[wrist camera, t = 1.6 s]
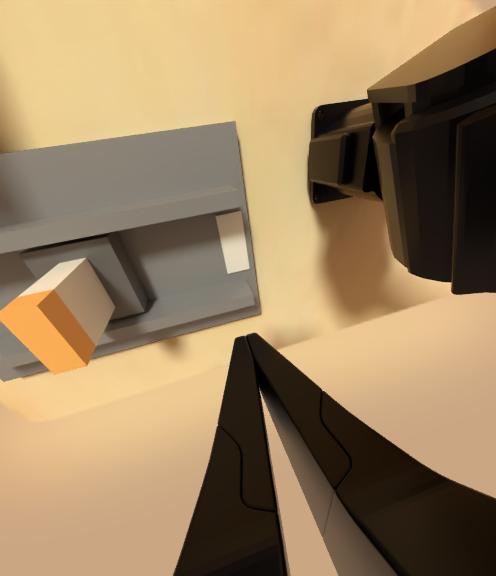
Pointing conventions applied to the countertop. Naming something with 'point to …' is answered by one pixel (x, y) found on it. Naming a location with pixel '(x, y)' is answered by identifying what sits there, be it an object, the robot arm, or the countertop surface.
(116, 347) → the housing
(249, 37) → the countertop surface
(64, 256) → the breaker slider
